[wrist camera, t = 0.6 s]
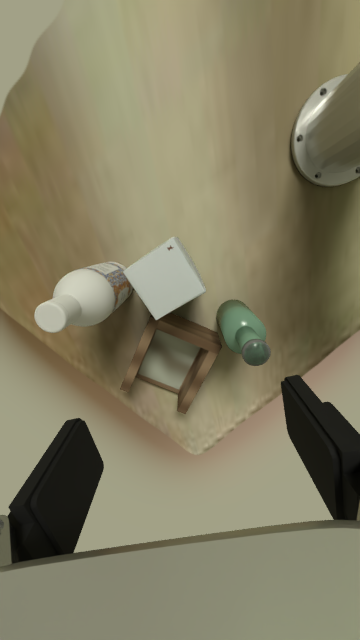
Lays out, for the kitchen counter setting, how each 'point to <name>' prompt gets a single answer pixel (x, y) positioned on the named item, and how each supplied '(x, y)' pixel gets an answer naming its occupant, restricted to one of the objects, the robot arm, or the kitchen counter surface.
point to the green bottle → (243, 332)
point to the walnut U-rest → (174, 357)
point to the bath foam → (84, 297)
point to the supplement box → (165, 278)
